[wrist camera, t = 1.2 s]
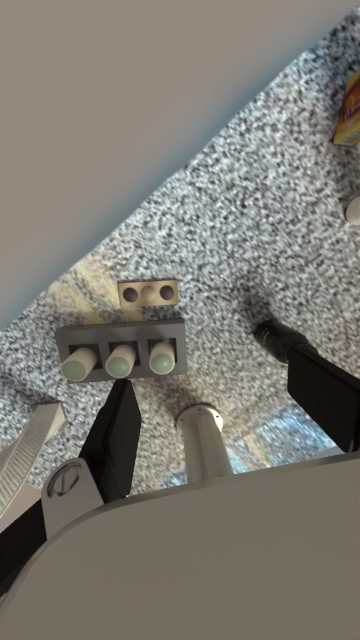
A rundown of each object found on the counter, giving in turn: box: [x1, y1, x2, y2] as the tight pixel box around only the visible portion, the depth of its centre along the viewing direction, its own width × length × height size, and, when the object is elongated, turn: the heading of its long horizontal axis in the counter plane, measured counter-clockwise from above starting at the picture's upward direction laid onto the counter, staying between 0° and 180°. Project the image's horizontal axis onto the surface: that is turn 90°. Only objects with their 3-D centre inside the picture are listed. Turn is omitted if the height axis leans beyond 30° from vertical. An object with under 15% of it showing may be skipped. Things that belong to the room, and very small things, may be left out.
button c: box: [60, 348, 97, 382], centre depth 34 cm, size 5×5×5 cm
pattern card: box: [118, 280, 178, 307], centre depth 37 cm, size 12×5×1 cm, turn 93°
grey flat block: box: [54, 319, 187, 384], centre depth 39 cm, size 26×12×4 cm, turn 93°
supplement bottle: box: [255, 320, 318, 364], centre depth 36 cm, size 7×7×12 cm
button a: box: [149, 342, 175, 374], centre depth 35 cm, size 5×5×5 cm
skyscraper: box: [0, 401, 69, 518], centre depth 31 cm, size 8×8×28 cm
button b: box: [105, 345, 136, 378], centre depth 34 cm, size 5×5×5 cm
